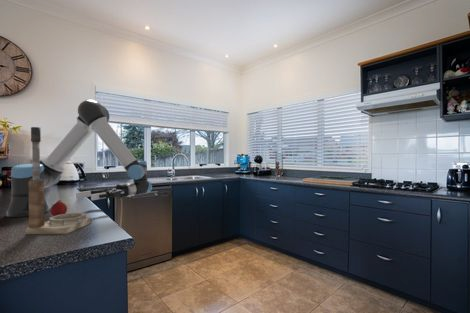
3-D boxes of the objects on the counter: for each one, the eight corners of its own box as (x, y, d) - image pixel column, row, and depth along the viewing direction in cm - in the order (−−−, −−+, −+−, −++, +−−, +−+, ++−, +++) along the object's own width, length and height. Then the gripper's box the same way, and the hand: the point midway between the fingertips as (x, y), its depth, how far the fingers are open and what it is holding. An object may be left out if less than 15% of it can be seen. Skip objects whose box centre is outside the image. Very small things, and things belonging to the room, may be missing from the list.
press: (57, 222, 97) (56, 131, 97) (91, 222, 97) (90, 130, 97) (26, 233, 83) (25, 126, 83) (65, 233, 83) (64, 126, 83)
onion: (58, 220, 101) (58, 201, 101) (47, 219, 102) (46, 200, 102) (70, 216, 107) (70, 198, 107) (59, 216, 108) (59, 198, 108)
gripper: (140, 198, 124) (98, 206, 106) (112, 195, 137) (71, 202, 119) (139, 184, 124) (97, 189, 106) (111, 182, 137) (70, 187, 119)
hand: (83, 196), depth 113 cm, fingers open, 13 cm apart
